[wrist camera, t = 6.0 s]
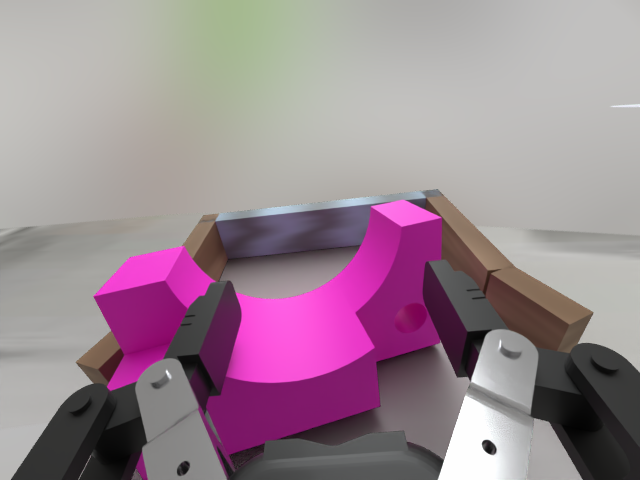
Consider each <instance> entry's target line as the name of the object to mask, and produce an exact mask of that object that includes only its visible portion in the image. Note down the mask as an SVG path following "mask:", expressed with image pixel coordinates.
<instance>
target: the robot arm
mask: <svg viewBox="0 0 640 480" xmlns="http://www.w3.org/2000/svg"><path fill="white" fill-rule="evenodd" d="M422 292H423V300H424V303H425V306H426V308H427V311H428V313H429V315H430V317H431V320H432V322H433V324H434V326H435V329H436V331H437V333H438V335H439V338H440V340H441V342H442V344H443V347H444V349H445V351H446V353H447V356H448V358H449V360H450V362H451V365H452V367H453V369H454V371H455V374H456V376H457V377H468V378H469V380H470V385H469V387H468V390H467V393H466V396H465V399H464V402H463V405H462V408H461V411H460V414H459V417H458V420H457V423H456V426H455V430H454V433H453V436H452V439H451V442H450V445H449V448H448V451H447V454H446V457H445V460H443V459H442V458H440V457H439V456H438V455H436V454H435V453H433V452H431V451H430V450H428V449H426V448H424V447H422V446H419V445H416V444H414V443H410V442H406V438H405V433H404V431H393V432H379V433H368V434H366V435H363V436H361V437H358V438H355V439H353V440H350V441H347V442H345V443H342V444H340V445H336V446H330V445H326V444H321V443H317V442H313V441H308V440H304V439H299V438H296V439H283V440H269V441H265V446H264V452H263V453H261V454H259V455H257V456H255V457H253V458H251V459H250V460H248V461H247V462H245V463H244V464H243V465H242V466H240V467H239V468H238V469H237V470H236V469H235V467H234V465H233V463H232V461H231V459H230V457H229V455H228V453H227V451H226V449H225V447H224V445H223V442H222V440H221V438H220V436H219V433H218V431H217V429H216V427H215V424H214V422H213V420H212V418H211V416H210V413H209V411H208V409H207V407H206V405H207V402H208V399H209V396H220V395H221V391H222V388H223V384H224V381H225V377H226V373H227V370H228V366H229V363H230V359H231V356H232V352H233V348H234V345H235V341H236V338H237V334H238V331H239V327H240V323H241V318H242V312H241V307H240V304H239V301H238V298H237V295H236V293H235V290H234V287H233V284H232V282H231V281H220V282H212V283H210V285H209V287H208V289H207V291H206V293H205V295H203V296H199V297H198V298H197V299H196V300H195V301H194V302H193V303H192V304H191V305H190V306H189V308H188V310H187V312H186V314H185V318H183V320H182V322H181V324H180V325H181V326H180V327H179V328H178V330H177V332H176V334H175V336H174V338H173V340H172V342H171V344H170V346H169V348H168V350H167V352H166V354H165V356H164V358H163V359H162V360H160V361H158V362H156V363H154V364H152V365H151V366H149V367H148V368H147V369H146V370H145V371H144V372H143V373H142V374H141V376H140V377H139V379H138V381H136V382H134V383H131V384H128V385H125V386H123V387H120V388H117V389H115V390H112V391H110V390H109V389H108V388H107V386H105V385H104V384H101V383H95V384H91V385H88V386H85V387H83V388H81V389H80V390H78V391H76V392H75V393H74V394H72V395H71V396H70V397H69V398H68V399H67V400H66V401H65V402H64V403H63V404H62V405H61V406H60V408H59V409H58V411H57V412H56V414H55V415H54V417H53V418H52V420H51V421H50V423H49V424H48V426H47V427H46V429H45V430H44V431H43V433H42V435H41V436H40V437H39V439H38V440H37V442H36V443H35V445H34V446H33V448H32V449H31V451H30V452H29V454H28V455H27V457H26V458H25V460H24V461H23V463H22V464H21V466H20V467H19V468H18V470H17V472H16V473H15V474H14V476H13V477H12V479H11V480H78V478H79V477H80V475H81V473H82V471H83V469H84V467H85V465H86V463H87V461H88V459H89V457H90V455H91V458H90V460H89V462H88V464H87V466H86V468H85V469H84V471H83V473H82V475H81V477H80V479H79V480H131V479H132V476H133V474H134V471H135V468H136V466H137V463H138V461H139V458H140V456H141V453H143V459H144V463H145V468H146V473H147V478H148V480H526V479H527V472H528V464H529V456H530V449H531V441H532V434H533V426H534V418H536V419H540V420H545V421H549V422H550V424H551V426H552V427H553V429H554V431H555V433H556V434H557V436H558V438H559V439H560V441H561V443H562V445H563V446H564V448H565V450H566V452H567V453H568V455H569V457H570V458H571V460H572V462H573V464H574V465H575V467H576V469H577V470H578V472H579V474H580V476H581V477H582V479H583V480H640V373H639V372H638V371H637V369H636V368H635V367H634V366H633V365H632V364H631V363H630V362H629V361H628V360H627V359H625V358H624V357H623V356H621V355H620V354H618V353H617V352H615V351H613V350H611V349H609V348H606V347H604V346H601V345H597V344H592V343H581V344H577V345H575V346H574V347H573V348H572V350H571V352H570V353H565V352H559V351H554V350H548V349H542V348H538V347H535V346H534V345H533V344H532V343H531V341H529V340H528V339H527V338H525V337H524V336H522V335H520V334H519V333H516V332H514V331H510V330H509V329H508V327H507V326H506V325H505V323H504V322H503V320H502V319H501V318H500V316H499V315H498V313H497V312H496V311H495V309H494V308H493V306H492V305H491V303H490V302H489V301H488V299H486V296H485V295H484V294H483V292H482V291H481V290H480V288H479V287H478V285H477V284H476V282H475V281H474V280H473V278H471V277H470V276H468V275H467V274H465V273H464V272H463V271H454V270H453V269H452V267H451V266H450V264H449V262H448V261H447V260H435V261H427V262H426V263H425V268H424V279H423V290H422Z"/></svg>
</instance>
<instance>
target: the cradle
mask: <svg viewBox="0 0 640 480" xmlns="http://www.w3.org/2000/svg"><path fill="white" fill-rule="evenodd" d="M399 200H405V201H408V202H410V203H412V204H414V205H416V206H418V207H420V208H422V209H425V210H427V211H429V212H431V213H433V214H435V215H437V216H439V217H442V245H441V260H447V261H448V262H449V264H450V266H451V267H452V269H453V270H454V271H463V272H464V273H465V274H467V275H468V276H470V277H471V278H473V280H474V281H475V282H476V284H477V285H478V287H479V288H480V290H481V291H482V292H483V294H484V295H485V296H486V299H488V301H489V302H490V303H491V305H492V306H493V308H494V309H495V311H496V312H497V313H498V315H499V316H500V318H501V319H502V320H503V322H504V323H505V325H506V326H507V327H508V329H509V330H510V331H514V332H516V333H519V334H520V335H522V336H524V337H525V338H527V339H528V340H529V341H531V343H532V344H533V345H534V346H535V347H538V348H542V349H548V350H554V351H559V352H565V353H570V352H571V350H572V348H573V347H574V346H575V345H577V344H578V342H579V340H580V338H581V336H582V334H583V332H584V330H585V328H586V326H587V324H588V322H589V321H590V319H591V317H592V315H593V313H594V312H592V311H590V310H588V309H587V308H585V307H583V306H582V305H580V304H578V303H576V302H575V301H573V300H571V299H569V298H568V297H566V296H564V295H563V294H561V293H559V292H557V291H556V290H554V289H552V288H550V287H549V286H547V285H545V284H544V283H542V282H540V281H538V280H537V279H535V278H533V277H531V276H530V275H528V274H526V273H525V272H523V271H521V270H519V269H518V268H516V267H515V266H514V265H513V264H512V263H511V262H510V261H509V260H508V259H507V258H506V257H505V256H504V255H503V254H502V253H501V252H500V251H499V250H498V249H497V248H496V247H495V246H494V245H493V244H492V243H491V242H490V241H489V240H488V239H487V238H486V237H485V236H484V235H483V234H482V233H481V232H480V231H479V230H478V229H477V228H476V227H475V226H474V225H473V224H472V223H471V222H470V221H469V220H468V219H467V218H466V217H465V216H464V215H463V214H462V213H461V212H460V211H459V210H458V209H457V208H456V207H455V206H454V205H453V204H452V203H451V202H450V201H449V200H448V199H447V198H446V197H445V196H444V195H443V194H442V193H441V192H440V191H439V190H438V189H436V190H426V191H417V192H409V193H399V194H390V195H381V196H373V197H363V198H354V199H345V200H336V201H327V202H319V203H310V204H301V205H292V206H283V207H274V208H265V209H257V210H247V211H239V212H229V213H220V214H211V215H203V217H202V218H201V220H200V221H199V223H198V224H197V225H196V227H195V228H194V230H193V231H192V233H191V234H190V235H189V237H188V238H187V240H186V241H185V243H184V244H183V245H182V246H185V248H186V250H187V251H188V253H189V255H190V256H191V258H192V259H193V260H194V262H195V263H196V264H197V265H198V267H199V268H200V269H201V270H202V271H203V272H204V273H205V274H207V275H208V276H209V277H210V278H211V279H213V280H214V281H216V282H218V281H219V279H220V277H221V274H222V272H223V270H224V267H225V265H226V263H227V260H228V259H235V258H244V257H253V256H263V255H272V254H281V253H291V252H300V251H310V250H319V249H328V248H338V247H347V246H357V245H361V244H362V242H363V240H364V237H365V235H366V231H367V228H368V224H369V219H370V210H371V206H375V205H380V204H385V203H390V202H394V201H399ZM123 357H124V353H123V351H122V350H121V348H120V346H119V344H118V342H117V340H116V338H115V336H114V334H113V333H112V331H111V332H109V333H108V334H107V335H106V336H105V337H104V338H103V339H101V340H100V341H99V342H98V343H97V344H96V345H95V346H93V347H92V348H91V349H90V350H89V351H88V352H87V353H85V354H84V355H83V356H82V357H81V358H80V359H79V360H77V361H76V363H77V365H78V366H79V367H80V368H81V369H82V370H83V372H84V373H85V374H86V375H87V376H88V377H89V379H90V380H91V381H92V382H93V383H94V384H95V383H101V384H104V385H105V386H108V384H109V382H110V380H111V378H112V377H113V375H114V373H115V371H116V369H117V368H118V366H119V364H120V362H121V360H122V358H123Z"/></svg>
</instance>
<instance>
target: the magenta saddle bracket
mask: <svg viewBox="0 0 640 480" xmlns="http://www.w3.org/2000/svg"><path fill="white" fill-rule="evenodd" d="M441 245H442V217H439V216H437V215H435V214H433V213H431V212H429V211H427V210H425V209H422V208H420V207H418V206H416V205H414V204H412V203H410V202H408V201H405V200H399V201H394V202H390V203H385V204H380V205H375V206H371V210H370V219H369V224H368V228H367V231H366V235H365V237H364V240H363V242H362V244H361V246H360V248H359V250H358V252H357V253H356V255H355V256H354V258H353V259H352V260H351V262H350V263H349V264H348V265H347V266H346V267H345V268H344V270H343V271H342V272H341V273H339V274H338V275H337V276H336V277H335V278H333V279H332V280H331V281H329V282H328V283H326V284H325V285H323V286H321V287H319V288H317V289H315V290H313V291H311V292H308V293H305V294H302V295H299V296H295V297H290V298H283V299H262V298H254V297H250V296H245V295H242V294H239V293H236V292H235V293H236V295H237V298H238V301H239V304H240V307H241V312H242V318H241V323H240V327H239V331H238V334H237V338H236V341H235V345H234V348H233V352H232V356H231V359H230V363H229V366H228V370H227V373H226V377H225V381H224V384H223V388H222V391H221V395H220V396H209V399H208V402H207V405H206V407H207V409H208V411H209V413H210V416H211V418H212V420H213V422H214V424H215V427H216V429H217V431H218V433H219V436H220V438H221V440H222V442H223V445H224V447H225V449H226V451H227V453H228V455H230V454H233V453H236V452H239V451H242V450H245V449H249V448H252V447H255V446H258V445H261V444H264V443H265V441H269V440H277V439H280V438H283V437H286V436H289V435H292V434H295V433H299V432H302V431H305V430H308V429H311V428H314V427H317V426H320V425H324V424H327V423H330V422H333V421H336V420H339V419H342V418H345V417H349V416H352V415H355V414H358V413H361V412H364V411H367V410H371V409H374V408H377V407H380V397H379V387H378V376H377V366H376V362H377V361H381V360H384V359H387V358H391V357H394V356H398V355H401V354H404V353H408V352H411V351H415V350H418V349H421V348H425V347H428V346H431V345H435V344H438V343H440V338H439V335H438V333H437V331H436V329H435V326H434V324H433V322H432V320H431V317H430V315H429V313H428V311H427V308H426V306H425V303H424V300H423V292H422V290H423V279H424V268H425V263H426V262H427V261H435V260H441ZM212 282H216V281H214V280H213V279H211V278H210V277H209V276H208V275H207V274H205V273H204V272H203V271H202V270H201V269H200V268H199V267H198V265H197V264H196V263H195V262H194V260H193V259H192V258H191V256H190V255H189V253H188V251H187V250H186V248H185V246H181V247H177V248H172V249H167V250H163V251H158V252H153V253H148V254H144V255H139V256H134V257H130V258H129V259H128V260H127V261H126V262H125V263H124V264H123V265H122V266H121V267H120V268H119V269H118V271H117V272H116V273H115V274H114V275H113V276H112V277H111V278H110V279H109V280H108V281H107V282H106V283H105V284H104V286H103V287H102V288H101V289H100V290H99V291H98V292H97V293H96V294H95V295H94V296H93V297H94V299H95V301H96V302H97V304H98V306H99V308H100V310H101V312H102V314H103V316H104V318H105V319H106V321H107V323H108V325H109V327H110V329H111V331H112V333H113V334H114V336H115V338H116V340H117V342H118V344H119V346H120V348H121V350H122V351H123V353H124V357H123V358H122V360H121V362H120V364H119V366H118V368H117V369H116V371H115V373H114V375H113V377H112V378H111V380H110V382H109V384H108V386H107V388H108V389H109V390H110V391H112V390H115V389H117V388H120V387H123V386H125V385H128V384H131V383H134V382H136V381H138V379H139V377H140V376H141V374H142V373H143V372H144V371H145V370H146V369H147V368H148V367H149V366H151V365H152V364H154V363H156V362H158V361H160V360H162V359H163V358H164V356H165V354H166V352H167V350H168V348H169V346H170V344H171V342H172V340H173V338H174V336H175V334H176V332H177V330H178V328H179V327H180V326H181V325H180V324H181V322H182V320H183V318H185V314H186V312H187V310H188V308H189V306H190V305H191V304H192V303H193V302H194V301H195V300H196V299H197V298H198V297H199V296H203V295H205V293H206V291H207V289H208V287H209V285H210V283H212ZM136 469H137V470H138V472H139V474H140V475H141V477H142V478H143V480H148V478H147V473H146V468H145V463H144V459H143V453H141V456H140V458H139V461H138V463H137V466H136Z"/></svg>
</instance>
